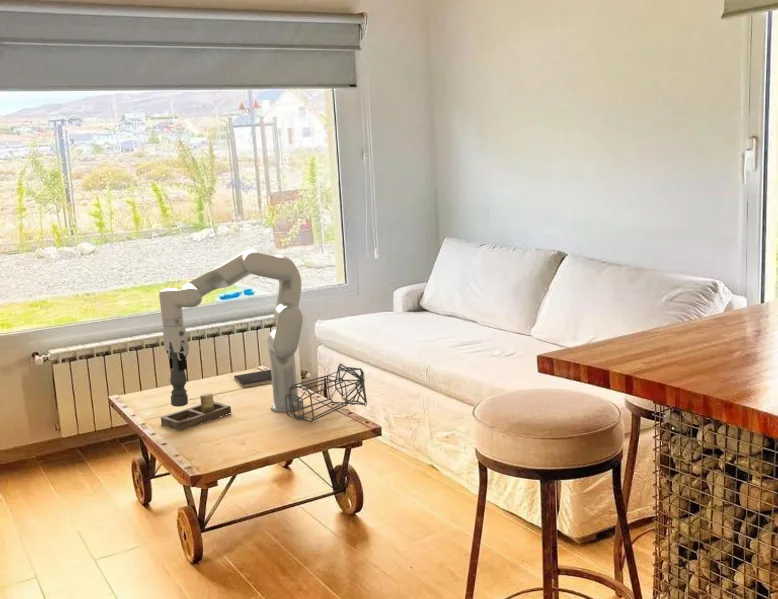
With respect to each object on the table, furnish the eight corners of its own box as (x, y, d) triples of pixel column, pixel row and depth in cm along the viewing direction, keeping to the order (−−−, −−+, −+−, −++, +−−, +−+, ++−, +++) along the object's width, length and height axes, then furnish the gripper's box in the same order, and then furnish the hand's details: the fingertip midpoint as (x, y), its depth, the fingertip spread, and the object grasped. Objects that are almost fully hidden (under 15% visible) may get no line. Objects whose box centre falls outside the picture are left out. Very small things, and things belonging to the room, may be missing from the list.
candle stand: (231, 413, 337) (229, 393, 335) (179, 431, 320) (177, 410, 319) (212, 408, 345) (210, 388, 344) (161, 424, 329) (159, 404, 327)
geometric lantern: (300, 391, 311) (374, 364, 333) (276, 383, 323) (348, 359, 345) (306, 432, 314) (378, 403, 337) (281, 423, 326) (353, 396, 348)
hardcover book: (294, 380, 378) (293, 375, 378) (242, 389, 370) (241, 384, 369) (284, 371, 393) (283, 366, 392) (234, 380, 384) (233, 375, 384)
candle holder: (183, 399, 332) (180, 337, 327) (190, 404, 328) (188, 340, 322) (168, 403, 329) (165, 339, 323) (175, 407, 324) (172, 343, 318)
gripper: (194, 322, 318) (199, 369, 321) (169, 317, 330) (174, 363, 333) (176, 326, 313) (182, 374, 316) (151, 321, 324) (157, 368, 328)
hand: (178, 368), depth 325 cm, fingers closed on candle holder, 5 cm apart
